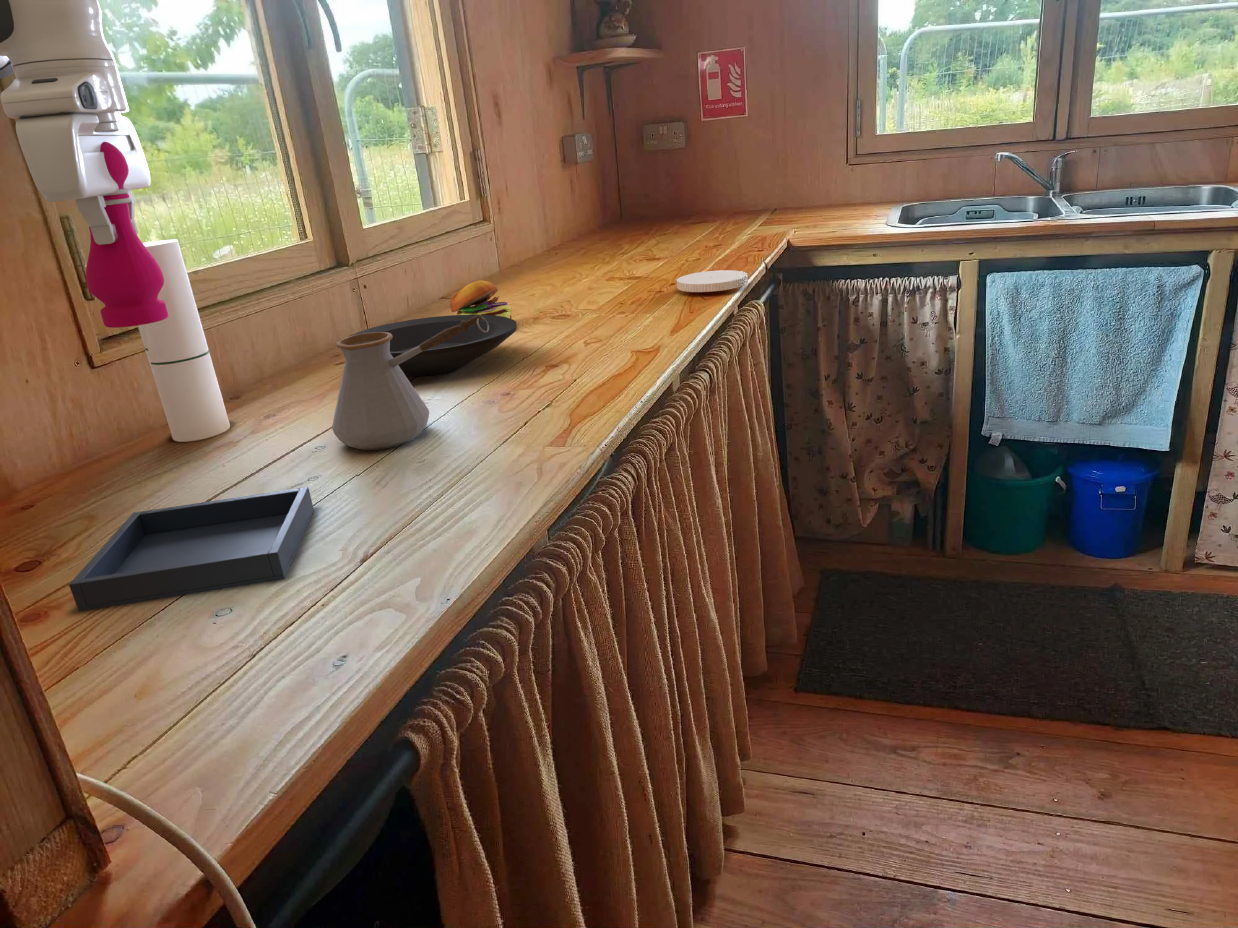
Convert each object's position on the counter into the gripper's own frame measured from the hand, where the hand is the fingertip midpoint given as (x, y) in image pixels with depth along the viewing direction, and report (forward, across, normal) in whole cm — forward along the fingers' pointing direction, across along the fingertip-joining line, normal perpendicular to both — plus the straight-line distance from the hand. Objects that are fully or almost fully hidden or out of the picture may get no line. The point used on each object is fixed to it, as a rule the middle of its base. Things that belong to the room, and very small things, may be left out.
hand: (118, 240), depth 91 cm
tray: (+27, +24, +8) cm, 37 cm away
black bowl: (+27, -37, +27) cm, 53 cm away
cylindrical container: (+27, -17, -3) cm, 32 cm away
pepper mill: (+9, 0, 0) cm, 9 cm away
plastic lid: (+27, -69, +81) cm, 110 cm away
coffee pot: (+27, -1, +27) cm, 38 cm away
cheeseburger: (+27, -60, +35) cm, 74 cm away
